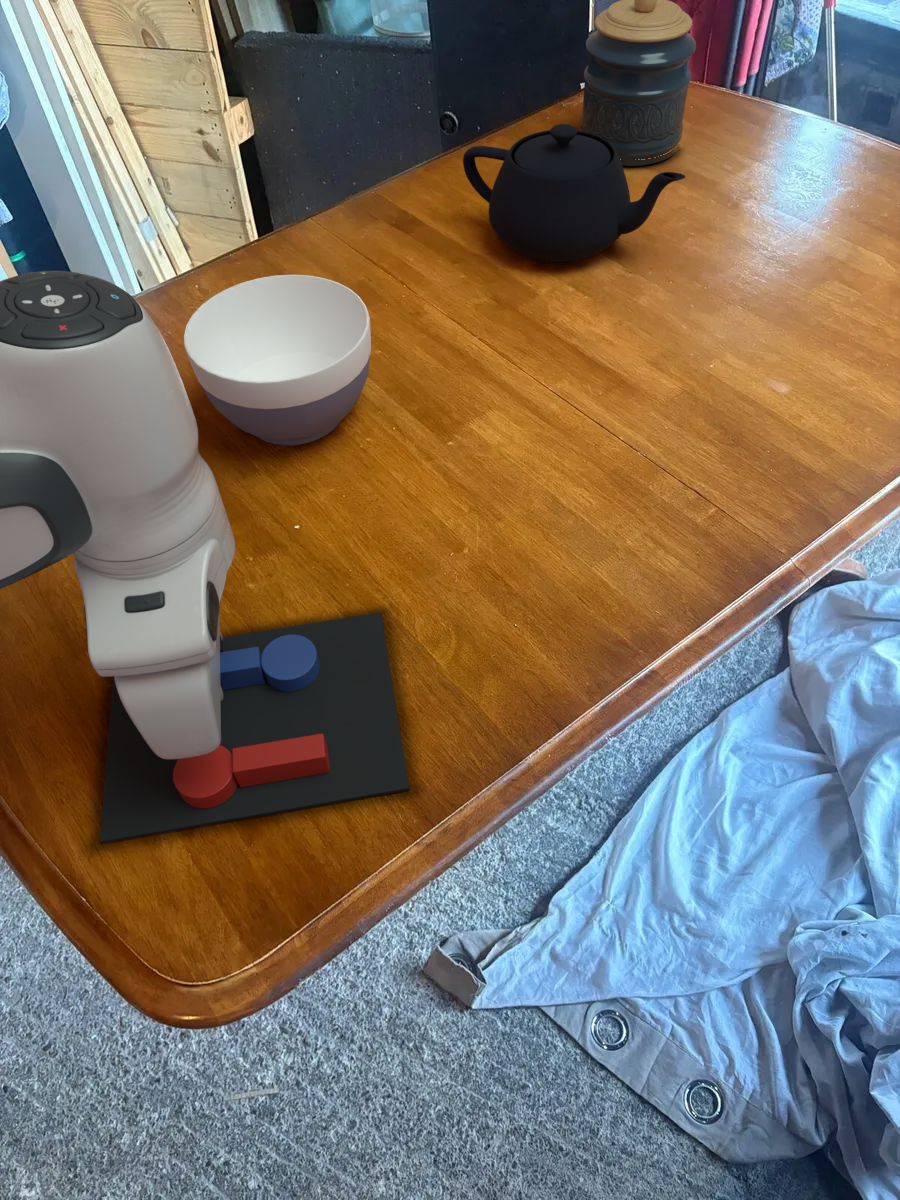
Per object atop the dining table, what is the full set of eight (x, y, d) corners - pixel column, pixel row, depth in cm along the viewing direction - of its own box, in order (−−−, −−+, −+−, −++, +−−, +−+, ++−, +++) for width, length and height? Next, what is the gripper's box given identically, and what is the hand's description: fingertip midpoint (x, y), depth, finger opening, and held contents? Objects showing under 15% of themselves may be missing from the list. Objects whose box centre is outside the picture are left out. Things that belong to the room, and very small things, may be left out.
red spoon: (326, 735, 61) (322, 718, 59) (331, 787, 59) (327, 771, 57) (179, 759, 60) (170, 743, 59) (178, 813, 58) (169, 798, 56)
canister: (628, 114, 121) (645, -40, 107) (701, 146, 114) (729, -14, 101) (557, 144, 116) (566, -14, 103) (629, 179, 110) (649, 16, 96)
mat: (101, 844, 57) (99, 841, 57) (116, 656, 66) (114, 653, 66) (409, 790, 59) (408, 788, 58) (381, 615, 68) (381, 611, 68)
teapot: (435, 251, 101) (429, 139, 91) (494, 189, 109) (494, 81, 100) (646, 301, 93) (664, 185, 83) (692, 231, 101) (712, 118, 92)
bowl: (299, 496, 77) (278, 408, 69) (175, 427, 83) (143, 339, 76) (414, 399, 84) (407, 310, 77) (293, 343, 91) (275, 255, 83)
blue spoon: (181, 710, 63) (172, 693, 61) (182, 664, 65) (173, 647, 64) (322, 687, 64) (317, 669, 62) (317, 643, 66) (313, 625, 64)
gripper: (112, 432, 59) (170, 569, 69) (85, 688, 46) (162, 807, 57) (208, 419, 59) (251, 557, 70) (208, 668, 46) (261, 790, 57)
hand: (211, 671), depth 63 cm, fingers open, 3 cm apart
